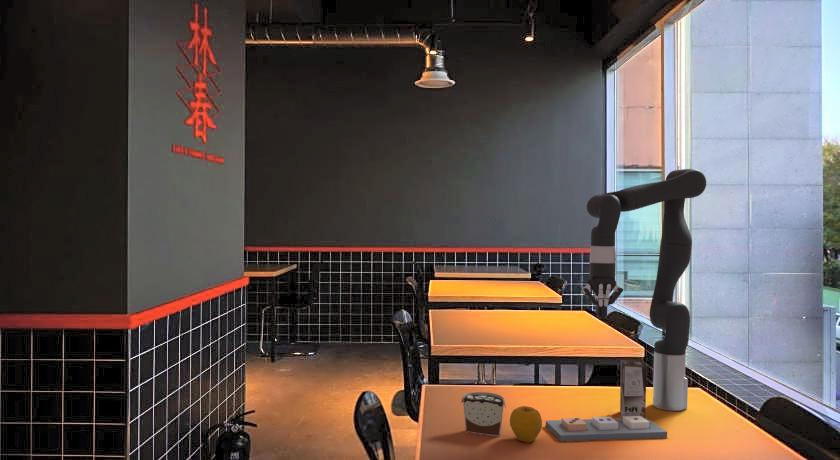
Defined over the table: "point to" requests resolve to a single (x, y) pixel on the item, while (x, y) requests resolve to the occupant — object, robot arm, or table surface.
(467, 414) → the food container
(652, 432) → the button board
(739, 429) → the table surface
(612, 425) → the tile two
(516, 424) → the apple
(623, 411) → the coffee box
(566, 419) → the tile three
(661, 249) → the robot arm
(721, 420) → the table surface
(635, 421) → the tile one
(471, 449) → the table surface
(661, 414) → the table surface
